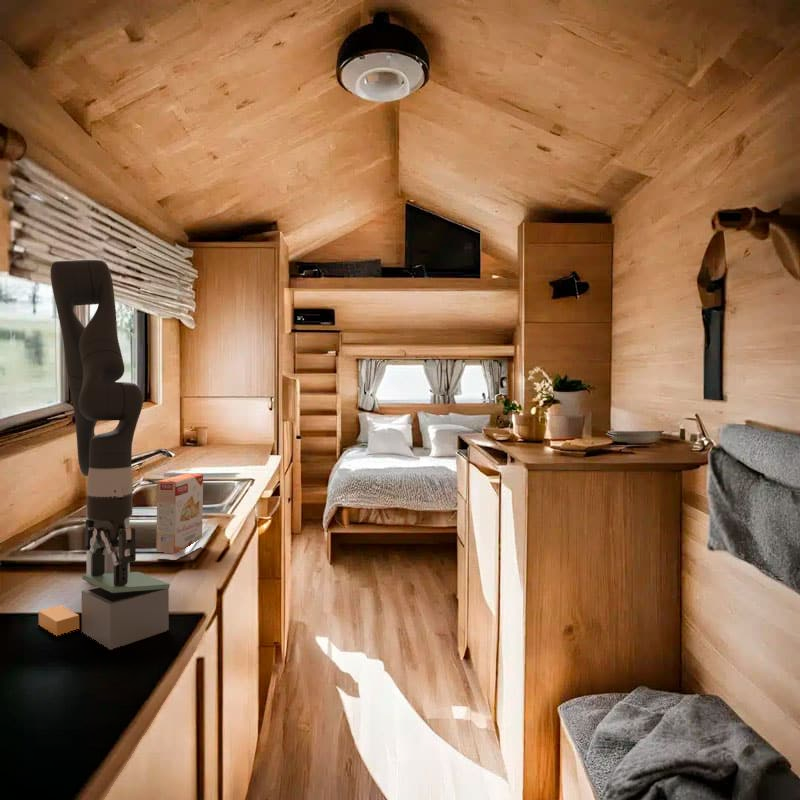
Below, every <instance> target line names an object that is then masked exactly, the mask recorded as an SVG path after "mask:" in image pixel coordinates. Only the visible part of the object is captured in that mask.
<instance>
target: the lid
mask: <svg viewBox="0 0 800 800" xmlns="http://www.w3.org/2000/svg"><path fill="white" fill-rule="evenodd" d="M81 579H82V580H83V581H86V582H88V583H90V584H92V585H94V586H95V587H97V586H98V587H100V588H102V589H105V590H107V591H109V592H111V593H117V592H130V591H143V590H156V589H170V585H171V584H170V583H169V582H166V581H163V580H160V579H158V578H155V577H153V576H150V575H148V574H146V573H143V572H141V571H130V572H128V582H127V584H126V585H122V586H115V585H114V573H106V574H103V575H100V576H92V575H91V574H87V573H85V574H82V578H81Z"/></svg>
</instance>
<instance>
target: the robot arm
mask: <svg viewBox="0 0 800 800" xmlns="http://www.w3.org/2000/svg"><path fill="white" fill-rule="evenodd" d="M49 271H50V282H51V288H52V292H53V297H54V302H55V305H56V306H55V307H56V312H57V316H58V320H59V324H60V329H61V334H62V340H63V347H64V349H63V351H64V356H65V366H66V373H67V381H68V386H69V391H70V396H71V397H70V398H71V402H72V408H73V414H74V420H75V421H74V422H75V432H76V447H77V448H76V449H77V450H76V451H77V460H78V465H79V469H80V472H81V474H82V475H83V476H85V477H87V480H86V481H87V483H86V499H85V500H86V501H85V502H86V503H85V506H86V509H85V511H86V515H85V516H86V517H85V518H86V519H85V527H84V528H85V530H84V551H85V552H86V574H91V575H92V576H100V575H103V574H106V573H114V585H115V586H122V585H126V584H127V582H128V572H131V567H130V565H131V564H130V563H132V562H133V563H134V562H136V560H137V559H136V557H137V556H136V547H137V546H136V528H135V527H130V523H131V521H130V517H132V515H133V500H134V499H133V494H134V491H133V489H134V488H133V486H134V478H133V469H132V468H133V467H132V461H133V460H132V454H133V453H132V451H133V449H132V447H133V441H134V436H135V432H136V428H137V424H138V421H139V418H140V415H141V412H142V409H143V404H144V395H143V393H142V390H141V388H140V387H139V386H138V385H137V384H136V383H133V382H127V381H124V382H123V381H122V382H121V381H118V380H121V378H122V377H123V376H124V373H125V364H124V363H125V362H124V358H123V354H122V350H121V346H120V342H119V337H118V326H117V325H118V323H117V309H116V300H115V290H114V283H113V282H114V281H113V277H112V273H111V270H110V268H109V266H108V264H107V263H106V261H104V260H102V259H98V258H97V259H95V258H93V259H92V258H91V259H89V258H88V259H85V258H83V259H61V260H55V261H53V262H52V263H51V266H50V270H49ZM90 305H97V309H96V311H95V313H94V314H93V316H92V318H91V319H90V320H89V321H88V323H87V324H86V325H85V326H84V325H83V323H82V321H81V320H80V318H78V316H77V314H76V312H75V309H74V307H75V306H90ZM100 421H101V422H103V421H104V422H105V421H108V422H109V421H118V424H117V426H116V427H115V428H114V429H113V430H112V431H111V430H110V431H108V432H103V433H99V434H95V428H96V424H97V423H98V422H100Z"/></svg>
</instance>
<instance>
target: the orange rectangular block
mask: <svg viewBox="0 0 800 800" xmlns="http://www.w3.org/2000/svg"><path fill="white" fill-rule="evenodd" d="M39 625H40V627H42V629H45V630H46V631H47V630H48V631H47V632H49V633H51V634H52V633H53V634H52V635H54V636H55V635H56V637H59V636H62V635H61V634H63V635H65V634H64V633H66V634H69V633H71V632H70V631H73V630H76V629H79V630H80V615H79V614H78V613H76V612H74V611H73V610H71V609H69V608H67V607H65V606H64V605H61V604H60V605H59V604H58V605H56V606H52V607H48V608H44V609H41V610H38V626H39ZM76 631H77V630H76ZM68 632H69V633H68ZM73 632H74V631H73ZM58 635H59V636H58Z"/></svg>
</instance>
